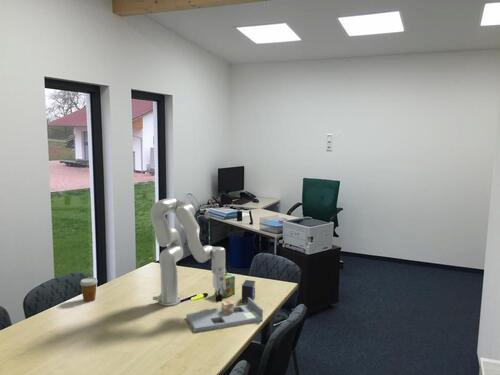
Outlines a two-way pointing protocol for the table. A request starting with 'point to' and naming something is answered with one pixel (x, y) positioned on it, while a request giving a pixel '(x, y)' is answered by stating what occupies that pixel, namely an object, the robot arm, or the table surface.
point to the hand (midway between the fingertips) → (218, 301)
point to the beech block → (227, 307)
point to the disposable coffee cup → (89, 289)
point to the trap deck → (225, 317)
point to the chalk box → (229, 285)
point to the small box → (248, 291)
